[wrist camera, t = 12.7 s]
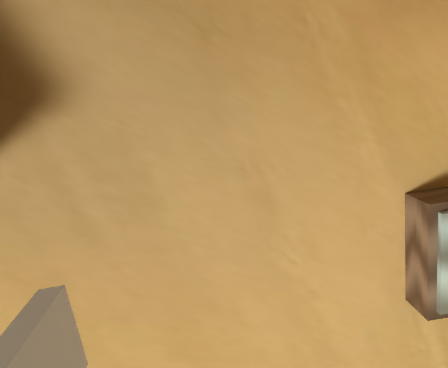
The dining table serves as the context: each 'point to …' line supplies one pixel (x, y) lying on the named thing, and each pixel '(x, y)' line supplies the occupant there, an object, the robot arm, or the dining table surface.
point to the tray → (427, 252)
